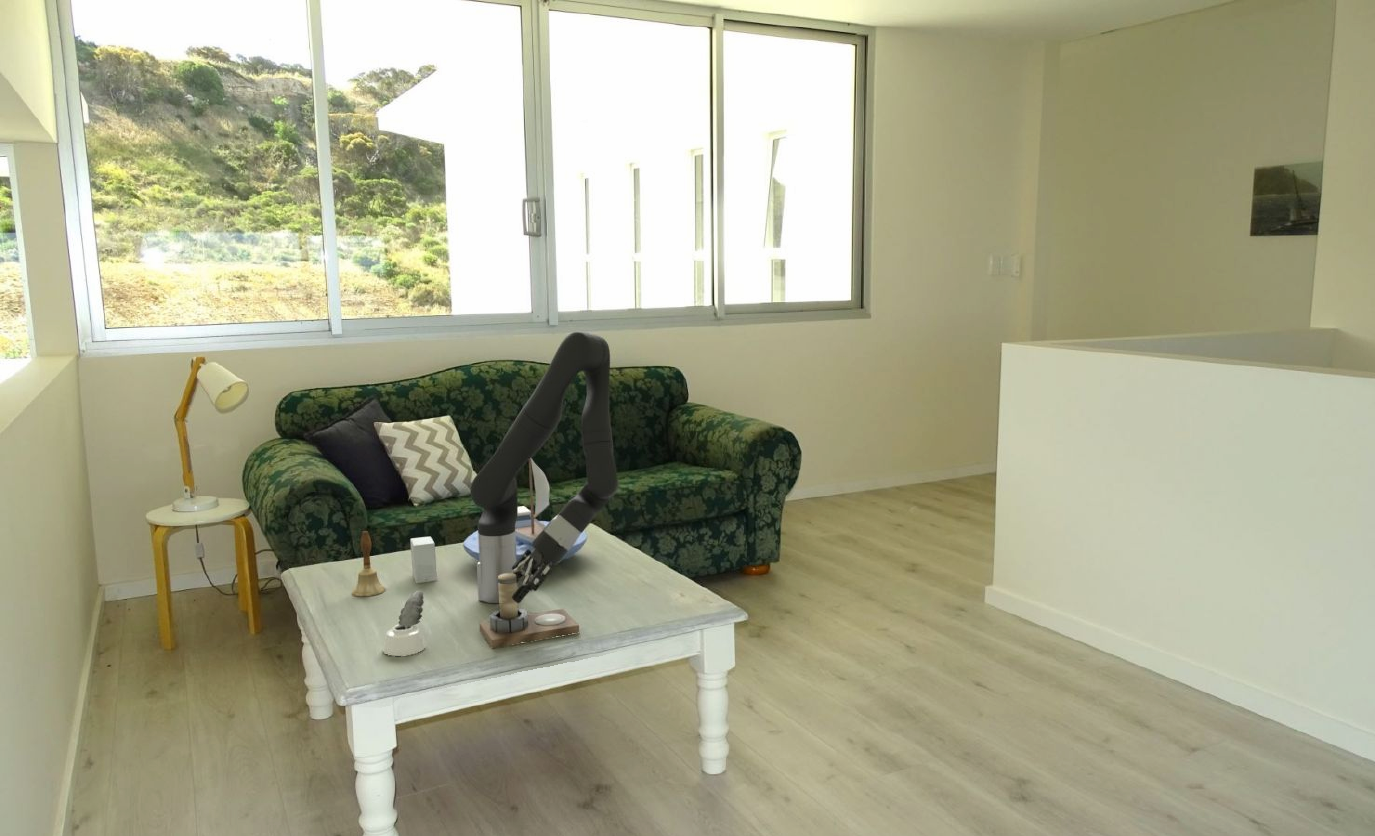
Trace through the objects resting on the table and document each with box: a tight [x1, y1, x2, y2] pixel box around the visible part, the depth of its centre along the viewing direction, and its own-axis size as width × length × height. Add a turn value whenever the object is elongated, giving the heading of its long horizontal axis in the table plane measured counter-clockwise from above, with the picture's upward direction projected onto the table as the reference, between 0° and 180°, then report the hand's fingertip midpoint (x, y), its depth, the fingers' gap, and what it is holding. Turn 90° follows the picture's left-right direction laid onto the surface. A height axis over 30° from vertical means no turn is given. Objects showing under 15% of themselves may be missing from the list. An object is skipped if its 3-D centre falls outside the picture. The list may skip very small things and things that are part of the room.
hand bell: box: [351, 530, 387, 597], centre depth 254 cm, size 8×8×16 cm
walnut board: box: [478, 608, 580, 650], centre depth 224 cm, size 20×12×2 cm, turn 115°
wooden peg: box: [498, 573, 519, 619], centre depth 221 cm, size 4×4×12 cm
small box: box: [409, 536, 438, 584], centre depth 265 cm, size 8×6×10 cm
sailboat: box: [462, 457, 588, 567], centre depth 276 cm, size 34×35×32 cm
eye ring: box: [489, 608, 529, 634], centre depth 222 cm, size 8×8×3 cm
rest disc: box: [535, 614, 565, 626], centre depth 226 cm, size 7×7×1 cm
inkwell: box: [382, 590, 427, 656], centre depth 220 cm, size 9×18×10 cm, turn 179°
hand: (509, 595), depth 221 cm, fingers open, 8 cm apart
